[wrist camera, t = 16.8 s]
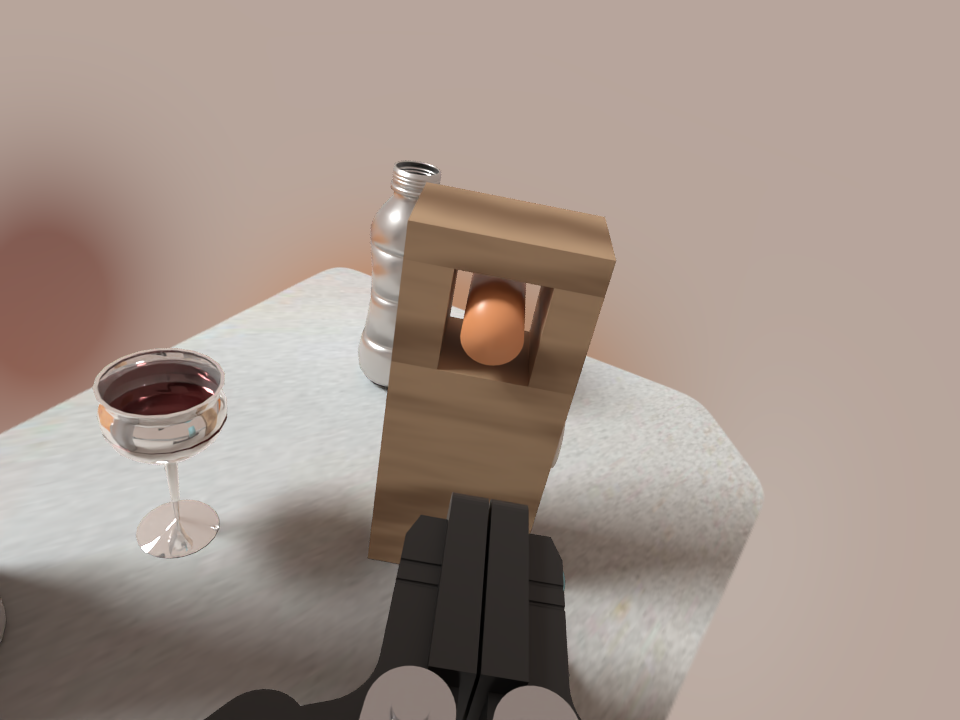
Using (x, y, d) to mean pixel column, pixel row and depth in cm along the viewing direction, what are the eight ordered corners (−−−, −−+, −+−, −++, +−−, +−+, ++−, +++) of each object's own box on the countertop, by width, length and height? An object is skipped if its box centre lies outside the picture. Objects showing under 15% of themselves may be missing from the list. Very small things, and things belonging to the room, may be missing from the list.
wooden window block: (519, 585, 43) (624, 262, 30) (367, 558, 43) (407, 220, 30) (521, 519, 48) (612, 218, 35) (385, 494, 48) (426, 182, 35)
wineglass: (95, 553, 40) (61, 400, 33) (160, 480, 45) (141, 337, 39) (199, 581, 39) (184, 431, 33) (251, 504, 45) (247, 363, 39)
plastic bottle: (368, 350, 64) (387, 148, 53) (434, 366, 63) (466, 166, 52) (346, 386, 58) (362, 169, 47) (418, 404, 58) (451, 189, 47)
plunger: (516, 370, 33) (530, 317, 31) (455, 359, 33) (465, 304, 31) (519, 307, 39) (531, 259, 37) (468, 297, 39) (477, 249, 37)
